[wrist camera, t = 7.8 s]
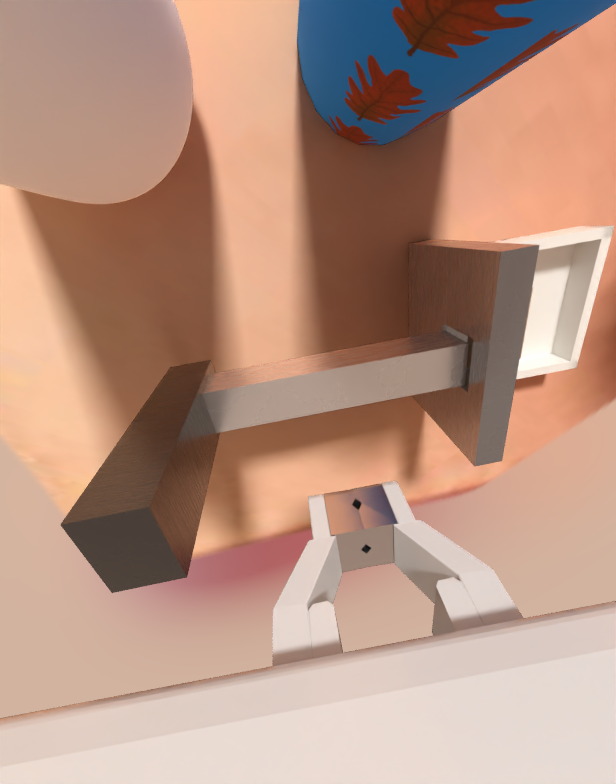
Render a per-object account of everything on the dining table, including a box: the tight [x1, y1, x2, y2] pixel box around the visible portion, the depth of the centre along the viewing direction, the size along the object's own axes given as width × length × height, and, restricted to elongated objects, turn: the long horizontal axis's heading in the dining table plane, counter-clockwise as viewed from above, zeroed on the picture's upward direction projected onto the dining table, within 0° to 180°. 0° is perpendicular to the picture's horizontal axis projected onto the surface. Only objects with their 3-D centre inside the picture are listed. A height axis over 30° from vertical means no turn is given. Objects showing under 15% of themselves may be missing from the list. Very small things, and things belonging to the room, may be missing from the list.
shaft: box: [61, 330, 469, 593], centre depth 18 cm, size 20×4×14 cm, turn 99°
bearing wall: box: [409, 239, 539, 466], centre depth 24 cm, size 2×14×12 cm, turn 9°
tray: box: [494, 226, 614, 379], centre depth 28 cm, size 13×12×3 cm
